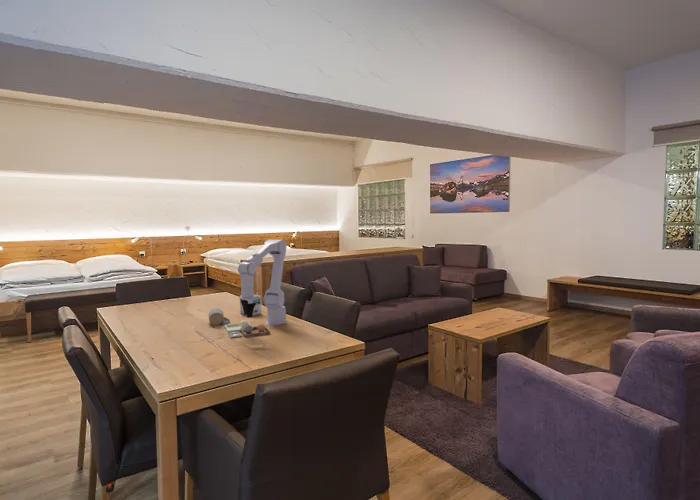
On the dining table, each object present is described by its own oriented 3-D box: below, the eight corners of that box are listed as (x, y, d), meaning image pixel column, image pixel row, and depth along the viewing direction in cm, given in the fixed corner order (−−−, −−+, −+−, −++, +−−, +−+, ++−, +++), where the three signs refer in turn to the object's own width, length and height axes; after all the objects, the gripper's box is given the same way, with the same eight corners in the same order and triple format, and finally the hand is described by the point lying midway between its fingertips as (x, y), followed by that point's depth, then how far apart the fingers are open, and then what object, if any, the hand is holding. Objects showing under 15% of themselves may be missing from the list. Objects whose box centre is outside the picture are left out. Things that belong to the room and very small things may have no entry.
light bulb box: (261, 313, 239) (261, 295, 238) (253, 315, 233) (252, 297, 232) (248, 311, 245) (248, 293, 244) (239, 313, 239) (239, 295, 238)
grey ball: (252, 331, 200) (251, 323, 199) (253, 333, 196) (253, 325, 196) (243, 332, 198) (243, 324, 198) (245, 334, 194) (244, 326, 194)
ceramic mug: (209, 326, 211) (208, 312, 210) (208, 322, 218) (208, 308, 218) (230, 325, 214) (230, 310, 214) (229, 321, 222) (229, 307, 221)
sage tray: (248, 325, 213) (248, 322, 213) (253, 331, 202) (253, 327, 202) (224, 328, 208) (224, 324, 208) (228, 334, 197) (227, 330, 197)
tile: (239, 333, 198) (239, 331, 198) (241, 338, 191) (241, 335, 191) (228, 334, 196) (228, 332, 196) (230, 339, 189) (230, 336, 189)
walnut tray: (264, 328, 206) (264, 325, 206) (270, 335, 195) (270, 331, 195) (240, 331, 201) (240, 328, 201) (244, 338, 190) (244, 334, 190)
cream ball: (247, 326, 209) (246, 318, 208) (248, 328, 205) (248, 320, 205) (239, 327, 207) (238, 319, 207) (240, 329, 203) (240, 321, 203)
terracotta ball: (264, 330, 202) (264, 322, 202) (266, 332, 199) (266, 324, 198) (256, 331, 201) (255, 323, 200) (257, 333, 197) (257, 325, 197)
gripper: (236, 285, 200) (237, 313, 201) (241, 290, 187) (242, 320, 188) (251, 284, 203) (251, 311, 204) (257, 289, 190) (257, 318, 191)
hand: (248, 315), depth 196 cm, fingers open, 7 cm apart
